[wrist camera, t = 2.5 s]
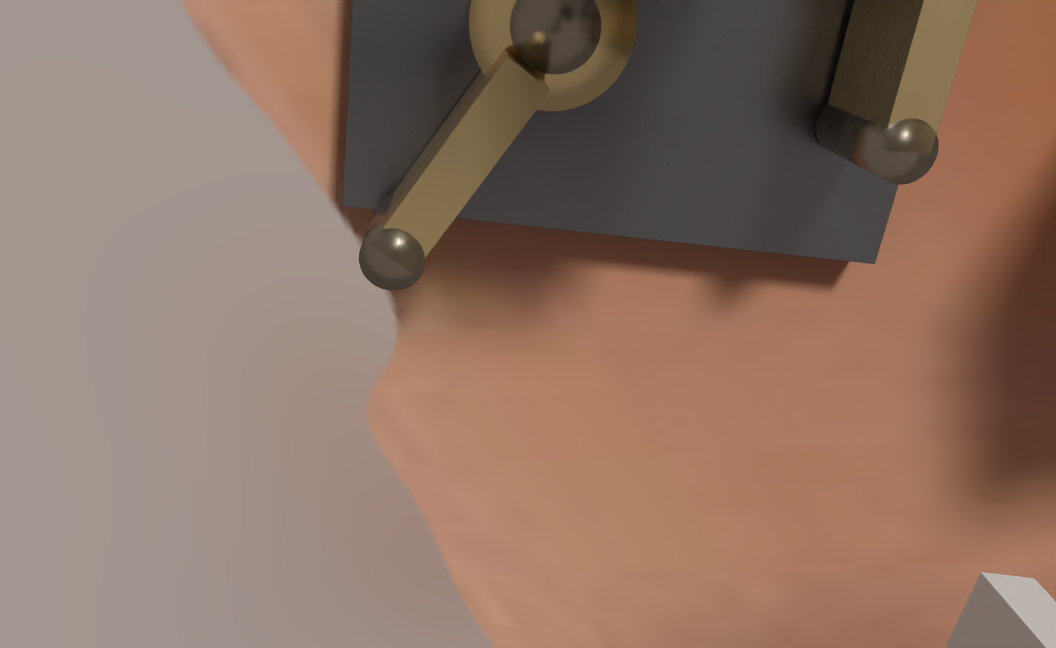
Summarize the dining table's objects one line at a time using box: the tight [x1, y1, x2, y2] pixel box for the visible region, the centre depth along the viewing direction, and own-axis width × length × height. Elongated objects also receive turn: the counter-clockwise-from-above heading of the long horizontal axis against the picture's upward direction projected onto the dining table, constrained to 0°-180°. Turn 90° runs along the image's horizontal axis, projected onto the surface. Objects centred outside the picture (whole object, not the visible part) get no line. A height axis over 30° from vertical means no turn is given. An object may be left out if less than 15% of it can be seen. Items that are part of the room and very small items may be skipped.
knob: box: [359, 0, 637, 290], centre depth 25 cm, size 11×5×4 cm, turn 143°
